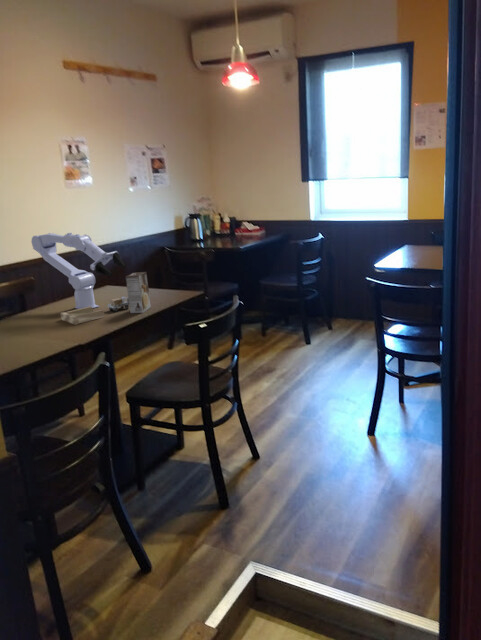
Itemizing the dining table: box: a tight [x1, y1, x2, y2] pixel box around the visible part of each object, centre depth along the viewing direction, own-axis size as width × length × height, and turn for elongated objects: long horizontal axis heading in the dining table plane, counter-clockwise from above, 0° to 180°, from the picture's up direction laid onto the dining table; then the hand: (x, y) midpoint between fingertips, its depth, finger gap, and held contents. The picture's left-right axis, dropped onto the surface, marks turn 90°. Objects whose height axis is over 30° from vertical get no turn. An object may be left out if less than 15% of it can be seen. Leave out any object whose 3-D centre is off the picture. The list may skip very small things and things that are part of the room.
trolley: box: [107, 296, 130, 313], centre depth 247 cm, size 6×8×5 cm
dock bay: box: [59, 306, 105, 326], centre depth 236 cm, size 14×14×3 cm
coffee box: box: [124, 271, 152, 314], centre depth 241 cm, size 9×6×16 cm
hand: (118, 271), depth 240 cm, fingers open, 7 cm apart
